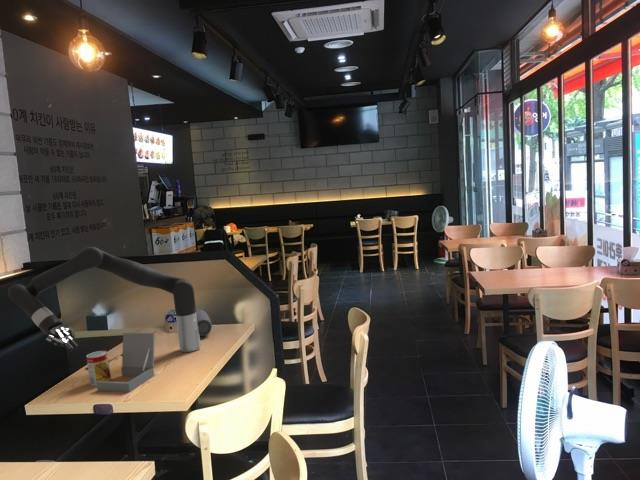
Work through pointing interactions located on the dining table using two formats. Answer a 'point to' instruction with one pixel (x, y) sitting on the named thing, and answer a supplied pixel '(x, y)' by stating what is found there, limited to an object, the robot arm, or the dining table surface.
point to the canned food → (98, 367)
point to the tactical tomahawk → (108, 360)
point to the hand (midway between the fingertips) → (74, 349)
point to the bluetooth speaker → (203, 322)
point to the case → (134, 362)
